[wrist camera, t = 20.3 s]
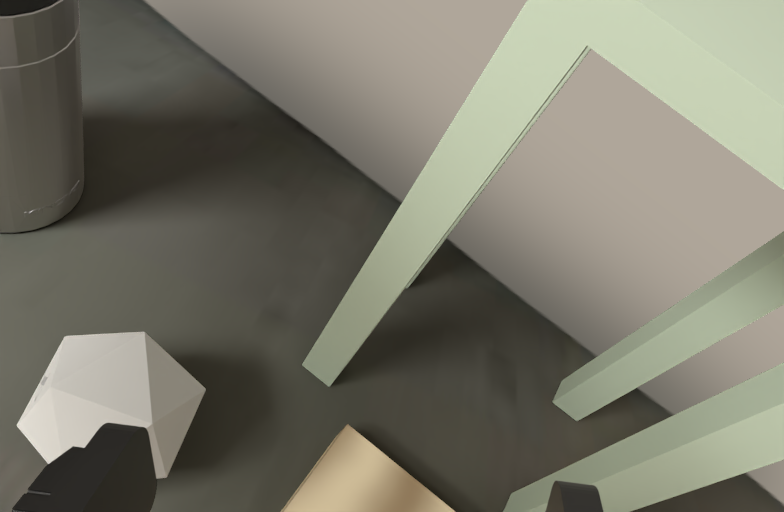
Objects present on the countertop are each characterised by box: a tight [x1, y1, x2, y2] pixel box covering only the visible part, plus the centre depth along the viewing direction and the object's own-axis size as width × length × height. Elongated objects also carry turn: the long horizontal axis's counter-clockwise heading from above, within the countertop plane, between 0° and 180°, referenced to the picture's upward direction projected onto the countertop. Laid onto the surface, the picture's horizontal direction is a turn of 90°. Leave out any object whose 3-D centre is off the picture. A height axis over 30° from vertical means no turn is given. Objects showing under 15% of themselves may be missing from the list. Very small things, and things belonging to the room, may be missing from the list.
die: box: [17, 332, 206, 479], centre depth 33 cm, size 8×9×10 cm
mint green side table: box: [302, 0, 784, 512], centre depth 35 cm, size 20×14×32 cm
